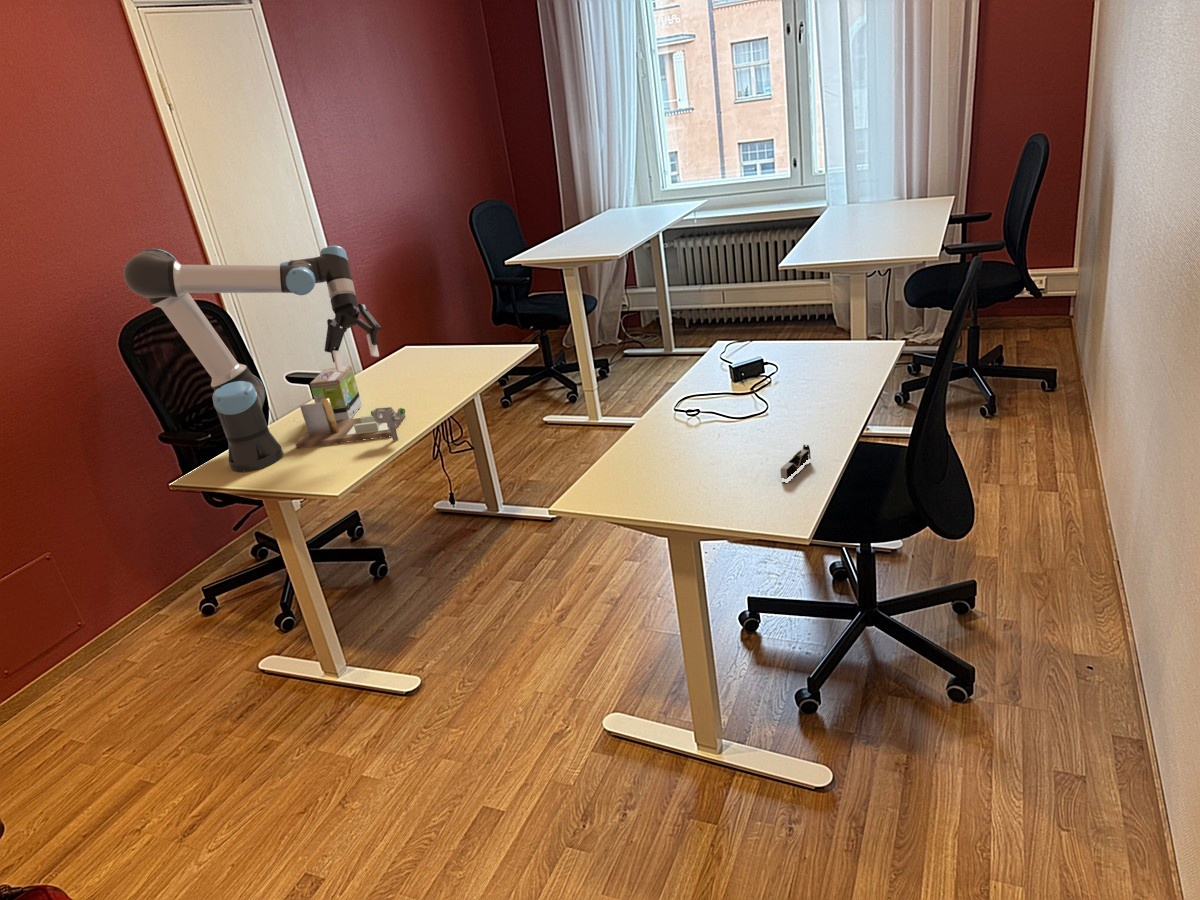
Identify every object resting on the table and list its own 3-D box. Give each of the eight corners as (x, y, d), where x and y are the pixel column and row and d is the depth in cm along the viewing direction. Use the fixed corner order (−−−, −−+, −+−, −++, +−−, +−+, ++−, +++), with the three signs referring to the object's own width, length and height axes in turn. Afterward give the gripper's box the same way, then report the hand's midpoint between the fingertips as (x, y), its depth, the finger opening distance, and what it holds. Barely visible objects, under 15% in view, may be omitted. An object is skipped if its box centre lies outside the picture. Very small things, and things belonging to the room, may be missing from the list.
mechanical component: (409, 441, 237) (400, 409, 233) (377, 443, 239) (369, 412, 235) (413, 437, 239) (405, 406, 235) (382, 438, 242) (373, 408, 238)
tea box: (351, 421, 260) (338, 379, 254) (321, 426, 260) (307, 383, 254) (363, 405, 274) (351, 364, 268) (334, 409, 274) (322, 368, 268)
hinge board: (297, 448, 245) (284, 410, 240) (315, 428, 259) (304, 391, 254) (391, 436, 242) (381, 398, 237) (405, 416, 257) (395, 380, 252)
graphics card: (805, 463, 188) (799, 444, 187) (815, 462, 186) (809, 443, 185) (781, 485, 180) (775, 465, 179) (791, 484, 178) (785, 464, 177)
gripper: (383, 283, 237) (398, 351, 234) (322, 314, 248) (336, 379, 244) (365, 278, 231) (381, 347, 227) (303, 310, 241) (317, 376, 238)
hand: (357, 364), depth 236 cm, fingers open, 13 cm apart
